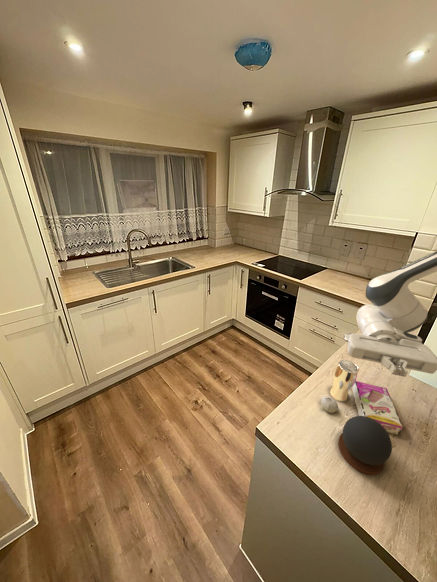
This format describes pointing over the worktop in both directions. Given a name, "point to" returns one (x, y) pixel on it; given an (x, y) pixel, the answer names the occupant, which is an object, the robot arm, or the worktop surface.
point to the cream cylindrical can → (344, 379)
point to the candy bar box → (376, 406)
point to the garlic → (329, 404)
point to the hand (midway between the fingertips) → (399, 373)
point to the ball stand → (365, 445)
